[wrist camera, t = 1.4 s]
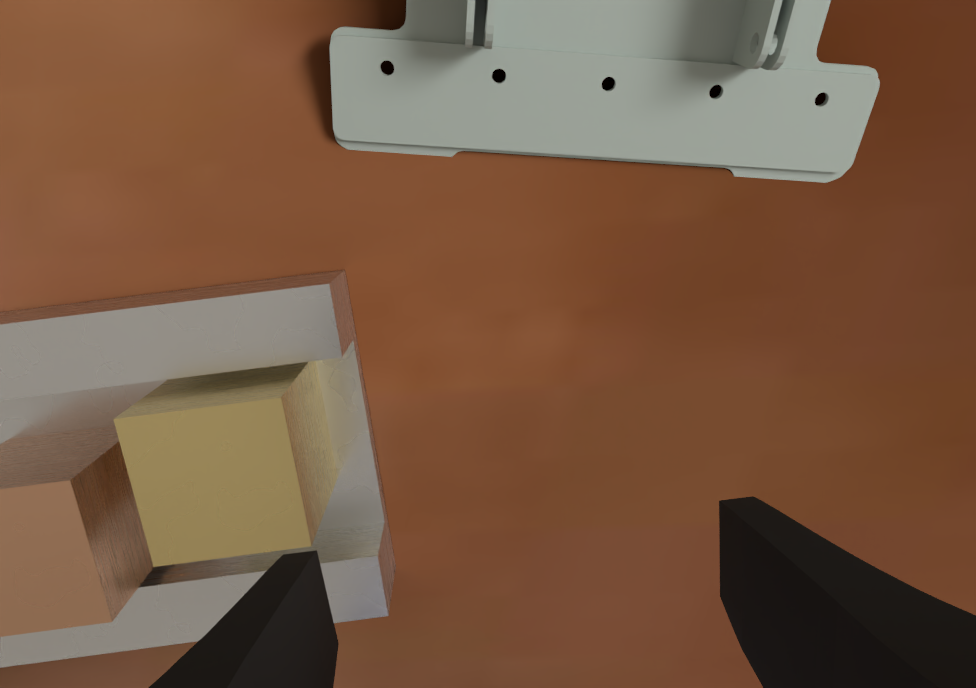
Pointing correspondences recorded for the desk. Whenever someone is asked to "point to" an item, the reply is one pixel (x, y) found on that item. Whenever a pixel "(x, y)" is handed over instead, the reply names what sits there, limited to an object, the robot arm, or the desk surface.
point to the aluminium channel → (192, 352)
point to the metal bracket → (581, 70)
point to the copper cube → (67, 531)
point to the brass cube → (229, 462)
